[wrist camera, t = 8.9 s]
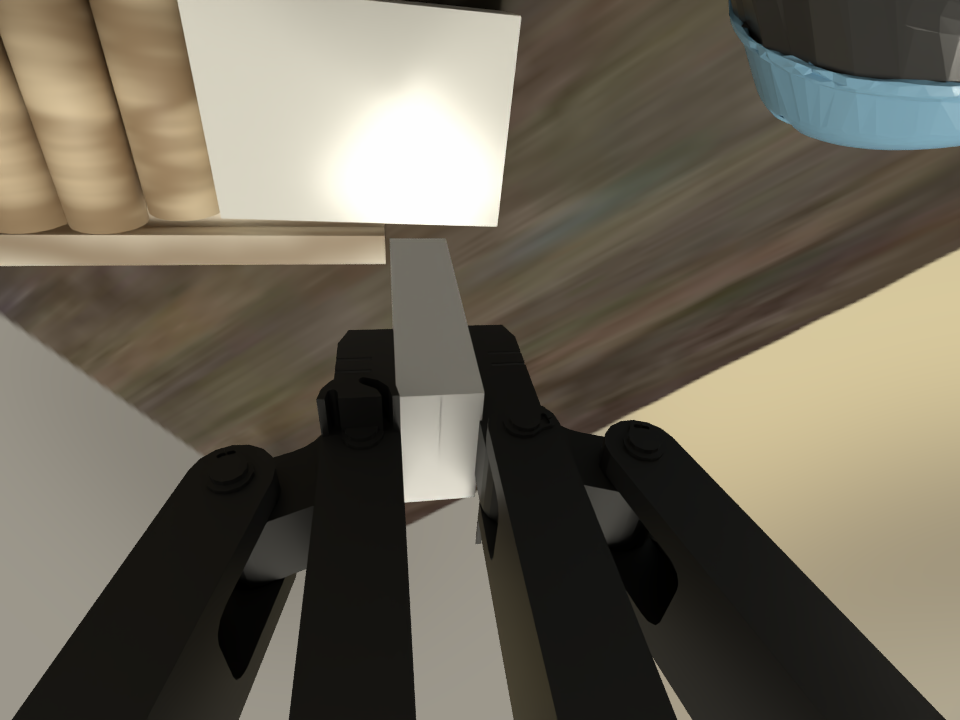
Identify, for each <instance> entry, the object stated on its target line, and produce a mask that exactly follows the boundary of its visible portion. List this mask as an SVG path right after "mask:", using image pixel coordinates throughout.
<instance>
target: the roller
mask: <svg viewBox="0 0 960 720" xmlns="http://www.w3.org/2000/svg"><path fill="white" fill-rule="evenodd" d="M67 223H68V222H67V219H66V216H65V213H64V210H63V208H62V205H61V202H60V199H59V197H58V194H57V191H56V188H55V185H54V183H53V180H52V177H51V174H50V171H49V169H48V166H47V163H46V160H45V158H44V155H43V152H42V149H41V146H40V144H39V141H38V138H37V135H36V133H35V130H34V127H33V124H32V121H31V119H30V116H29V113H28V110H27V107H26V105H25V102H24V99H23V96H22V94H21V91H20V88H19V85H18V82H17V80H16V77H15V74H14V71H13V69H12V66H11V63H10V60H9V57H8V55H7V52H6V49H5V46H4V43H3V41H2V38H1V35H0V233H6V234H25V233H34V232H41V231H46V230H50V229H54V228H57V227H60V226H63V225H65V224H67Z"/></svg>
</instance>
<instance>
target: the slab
mask: <svg viewBox="0 0 960 720" xmlns="http://www.w3.org/2000/svg"><path fill="white" fill-rule="evenodd" d="M177 2H178V6H179V11H180V16H181V21H182V26H183V31H184V36H185V41H186V46H187V51H188V56H189V61H190V66H191V71H192V76H193V81H194V86H195V91H196V96H197V101H198V106H199V111H200V116H201V121H202V126H203V130H204V135H205V140H206V145H207V150H208V155H209V160H210V165H211V170H212V175H213V180H214V185H215V190H216V195H217V200H218V205H219V210H220V215H221V218H223V219H257V220H291V221H325V222H359V223H394V224H428V225H462V226H496V227H497V222H498V214H499V205H500V196H501V188H502V179H503V170H504V162H505V153H506V144H507V136H508V127H509V119H510V110H511V101H512V93H513V84H514V75H515V67H516V58H517V49H518V41H519V32H520V23H521V16H519V15H516V14H513V13H510V12H507V11H498V10H489V9H479V8H470V7H460V6H450V5H441V4H431V3H422V2H412V1H402V0H177Z"/></svg>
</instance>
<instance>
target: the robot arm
mask: <svg viewBox="0 0 960 720" xmlns="http://www.w3.org/2000/svg"><path fill="white" fill-rule="evenodd" d="M729 16H730V22H731V24H732V26H733V29H734V31H735V33H736V34H737V36H738V37H739V39H740V40H741V41H742V42H743V44H744V47H745V50H746V54H747V57H748V61H749V64H750V68H751V72H752V75H753V79H754V82H755V85H756V88H757V91H758V93H759V96H760V98H761V100H762V101H763V103H764V104H765V106H766V107H767V109H768V110H769V111H770V112H771V113H772V114H773V115H774V116H775V117H776V118H778V119H780V120H782V121H784V122H786V123H788V124H791V125H792V126H793V127H794V128H795V129H797V130H798V131H799V132H800V133H802V134H804V135H806V136H808V137H811V138H815V139H818V140H821V141H824V142H828V143H833V144H837V145H842V146H848V147H855V148H864V149H877V150H917V149H934V148H945V147H954V146H960V0H729ZM390 260H391V290H392V319H393V329H377V330H349V331H348V332H347V333H346V334H345V336H344V337H343V338H342V339H341V340H340V342H339V343H338V348H337V357H336V366H335V376H334V380H332V381H330V382H329V383H328V384H327V385H325V386H324V387H323V388H322V389H321V390H320V393H319V395H318V397H317V399H316V400H317V407H318V414H319V421H320V427H321V434H322V435H321V436H320V437H318V438H317V439H316V440H315V441H314V442H312V443H310V444H309V445H307V446H306V447H304V448H301V449H298V450H296V451H293V452H290V453H287V454H283V455H280V456H277V457H274V458H273V457H272V456H271V455H270V454H269V453H267V452H266V451H265V450H264V449H262V448H259V447H255V446H252V445H232V446H228V447H225V448H221V449H218V450H215V451H213V452H211V453H210V454H208V455H206V456H204V457H202V458H201V459H199V460H198V461H197V463H196V464H194V465H193V466H192V468H190V469H189V471H188V472H187V473H186V475H185V476H184V478H183V479H182V480H181V482H180V483H179V484H178V486H177V487H176V489H175V490H174V492H173V493H172V494H171V496H170V497H169V499H168V500H167V501H166V503H165V504H164V506H163V507H162V508H161V510H160V511H159V513H158V514H157V516H156V517H155V518H154V520H153V521H152V523H151V524H150V525H149V527H148V528H147V530H146V531H145V533H144V534H143V536H142V537H141V538H140V540H139V541H138V542H137V544H136V545H135V547H134V548H133V550H132V551H131V552H130V554H129V555H128V557H127V558H126V559H125V561H124V562H123V564H122V565H121V566H120V568H119V569H118V571H117V572H116V573H115V575H114V576H113V578H112V579H111V580H110V582H109V584H108V585H107V586H106V587H105V589H104V590H103V592H102V593H101V595H100V596H99V597H98V599H97V600H96V602H95V603H94V604H93V606H92V607H91V609H90V610H89V611H88V613H87V615H86V616H85V617H84V619H83V620H82V621H81V623H80V624H79V626H78V627H77V628H76V630H75V631H74V633H73V634H72V635H71V637H70V638H69V640H68V641H67V643H66V644H65V646H64V647H63V648H62V650H61V651H60V653H59V654H58V655H57V657H56V658H55V660H54V661H53V662H52V664H51V665H50V667H49V668H48V669H47V671H46V672H45V674H44V675H43V676H42V678H41V679H40V681H39V682H38V684H37V685H36V686H35V688H34V689H33V691H32V692H31V693H30V695H29V696H28V698H27V699H26V700H25V702H24V703H23V705H22V706H21V707H20V709H19V710H18V712H17V713H16V715H15V716H14V717H13V719H12V720H239V717H240V715H241V712H242V710H243V707H244V705H245V703H246V700H247V697H248V695H249V692H250V690H251V688H252V685H253V683H254V680H255V677H256V675H257V672H258V670H259V668H260V665H261V663H262V660H263V658H264V655H265V652H266V650H267V647H268V645H269V643H270V640H271V638H272V635H273V633H274V630H275V628H276V625H277V623H278V620H279V617H280V615H281V613H282V610H283V607H284V605H285V603H286V600H287V598H288V595H289V593H290V590H291V587H292V585H293V583H294V580H295V578H296V573H297V572H299V571H302V570H304V569H306V577H305V586H304V594H303V603H302V612H301V620H300V629H299V638H298V646H297V654H296V664H295V671H294V680H293V689H292V697H291V706H290V714H289V720H416V709H415V692H414V672H413V653H412V635H411V616H410V597H409V579H408V578H409V577H408V559H407V540H406V521H405V502H416V501H429V500H441V499H454V498H466V497H474V496H475V488H476V484H477V489H478V494H479V500H480V502H479V513H478V522H477V532H476V544H480V543H481V540H482V544H483V550H484V556H485V561H486V567H487V572H488V578H489V584H490V589H491V595H492V600H493V606H494V611H495V617H496V623H497V628H498V634H499V640H500V645H501V651H502V656H503V662H504V668H505V673H506V679H507V684H508V690H509V696H510V701H511V706H512V712H513V718H514V720H677V718H676V715H675V713H674V710H673V708H672V705H671V703H670V700H669V698H668V695H667V693H666V690H665V688H664V685H663V683H662V680H661V678H660V675H659V673H658V670H657V668H656V665H655V662H656V663H657V665H658V666H659V668H660V669H661V671H662V673H663V674H664V676H665V677H666V679H667V680H668V682H669V684H670V685H671V687H672V688H673V690H674V691H675V693H676V695H677V696H678V698H679V699H680V701H681V702H682V704H683V705H684V707H685V709H686V710H687V712H688V714H689V715H690V717H691V718H692V720H946V719H945V718H944V717H943V716H942V715H941V714H940V713H939V712H938V711H937V710H936V709H935V708H934V707H933V706H932V705H931V704H930V703H929V702H928V701H927V700H926V699H925V698H924V697H923V696H922V695H921V694H920V692H919V691H918V690H917V689H916V688H915V687H913V685H912V684H911V683H910V682H909V681H908V680H907V679H906V678H905V677H904V676H903V675H902V674H901V673H900V672H899V671H898V670H897V669H896V668H895V667H894V666H893V665H892V664H891V663H890V661H888V659H887V658H886V657H885V656H883V654H882V653H881V652H880V651H879V650H878V649H877V648H876V647H875V646H874V645H873V644H872V643H871V642H870V641H869V640H868V639H867V638H866V637H865V636H864V635H863V634H862V633H861V632H860V631H859V630H858V628H857V627H856V626H855V625H854V624H853V623H852V622H851V621H850V620H849V619H848V618H847V617H846V616H845V615H844V614H843V613H842V612H841V611H840V610H839V609H838V608H837V607H836V606H835V605H834V604H833V603H832V602H831V601H830V600H829V599H828V598H827V596H826V595H825V594H824V593H823V592H822V591H821V590H820V589H819V588H818V587H817V586H816V585H815V584H814V583H813V582H812V581H811V580H810V579H809V578H808V577H807V576H806V575H805V574H804V573H803V572H802V571H801V570H800V569H799V568H798V567H797V565H796V564H795V563H794V562H793V561H792V560H791V559H790V558H789V557H788V556H787V555H786V554H785V553H784V552H783V551H782V550H781V549H780V548H779V547H778V546H777V545H776V544H775V543H774V542H773V541H772V540H771V539H770V538H769V536H767V534H766V533H765V532H763V530H762V529H761V528H760V527H759V526H758V525H757V524H756V523H755V522H754V521H753V520H752V519H751V518H750V517H749V516H748V515H747V514H746V513H745V512H744V511H743V510H742V509H741V508H740V507H739V505H738V504H736V503H735V501H734V500H733V499H732V498H731V497H730V496H729V495H728V494H727V493H726V492H725V491H724V490H723V489H722V488H721V487H720V486H719V485H718V484H717V483H716V482H715V481H714V480H713V479H712V478H711V477H710V476H709V474H708V473H706V472H705V470H704V469H703V468H702V467H701V466H700V465H699V464H698V463H697V462H696V461H695V460H694V459H693V458H692V457H691V456H690V455H689V454H688V453H687V452H686V451H685V450H684V449H683V448H682V447H681V446H680V445H679V444H678V442H677V441H675V439H674V438H673V437H671V436H670V435H669V434H668V433H666V432H665V431H664V430H662V429H661V428H659V427H657V426H654V425H652V424H650V423H647V422H641V421H635V420H630V421H620V422H618V423H616V424H614V425H612V426H610V428H609V429H608V431H607V432H606V434H605V437H603V436H597V435H592V434H586V433H581V432H577V431H573V430H569V429H567V428H565V427H563V426H560V423H559V421H558V420H557V419H556V417H555V416H554V414H553V413H552V412H550V411H549V410H547V409H546V408H545V407H543V406H541V405H540V402H539V400H538V397H537V394H536V392H535V389H534V386H533V384H532V381H531V378H530V376H529V373H528V370H527V368H526V365H524V360H523V357H522V354H521V353H520V349H519V346H518V344H517V341H516V338H515V336H514V335H513V334H511V333H510V332H509V331H508V330H507V329H506V328H505V327H504V326H503V325H475V326H468V325H467V321H466V317H465V313H464V309H463V305H462V301H461V297H460V293H459V289H458V285H457V281H456V278H455V274H454V270H453V266H452V262H451V258H450V254H449V250H448V246H447V242H446V239H390ZM653 658H654V660H655V662H654V660H653Z"/></svg>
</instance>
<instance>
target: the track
mask: <svg viewBox="0 0 960 720" xmlns="http://www.w3.org/2000/svg"><path fill="white" fill-rule="evenodd" d="M139 180H140V179H139ZM140 184H141V183H140ZM141 187H142V186H141ZM142 191H143V190H142ZM143 195H144V193H143ZM144 199H145V197H144ZM145 203H146V200H145ZM146 206H147V204H146ZM147 210H148V208H147ZM148 214H149V221H148V222H147V223H146V224H145V225H143V226H141V227H139V228H137V229H134V230H130V231H126V232H121V233H113V234H88V233H82V232H78V231H75V230H73V229H71V228H70V227H69V224H68V223H67V224H65V225H63V226H60V227H57V228H54V229H50V230H46V231H41V232H34V233H25V234H6V233H0V266H73V265H259V264H386V257H385V228H384V223H359V222H325V221H291V220H257V219H223V218H221V215H220V213H219V214H217V215H214V216H211V217H208V218H204V219H199V220H191V221H170V220H163V219H159V218H156V217H154V216H152V215H151V214H150V213H149V211H148Z"/></svg>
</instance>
